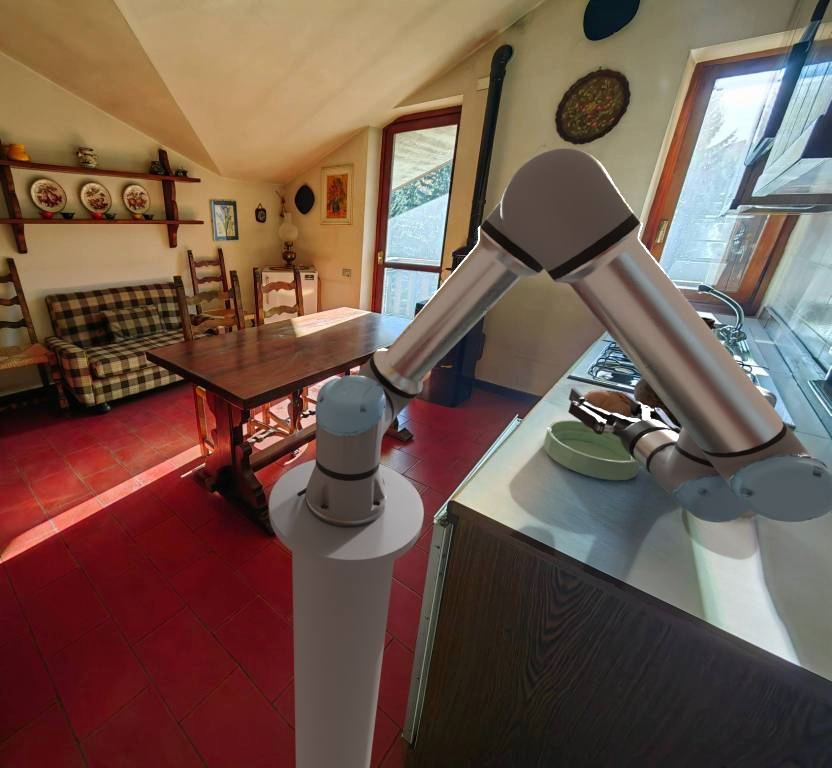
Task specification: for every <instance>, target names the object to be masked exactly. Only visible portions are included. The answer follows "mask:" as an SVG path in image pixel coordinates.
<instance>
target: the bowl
mask: <svg viewBox="0 0 832 768" xmlns="http://www.w3.org/2000/svg"><path fill="white" fill-rule="evenodd" d="M543 449H544V451H545V452H546V454H547V455H548V456H549V457H550V458H552V460H553V461H555V462H557V463H558V464H560V465H562V466H563V467H565V468H567V469H569V470H571V471H574V472H577V473H579V474H581V475H585V476H588V477H593V478H596V479H599V480H600V479H601V480H609V481H627V480H631V479H633V478H636V477H637V475H638V474H639V472H640V470H641V467H642V466H641V465H640V464H639V463H638V462H637V460H635V459H634V458H633V457H632V456H631V455H630V454H629V453H628V452H627V451H626V450H625V449H624V447H623V446H622V443H621V440H620V438H619V437H617V436H615V435H613V434H612V432H611V433H607V434H606V433H603V434H602V435H599V434H596V433H595V432H594V431H593V429H590V428H589V427H586V426H585V425H584V423H583V422H582V421H580V420H578V419H577V420H575V419H562V420H557V421H554V422H552V423H551V424H549V425H548V426H547V429H546V434H545V437H544V440H543Z"/></svg>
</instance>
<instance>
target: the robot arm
mask: <svg viewBox="0 0 832 768" xmlns="http://www.w3.org/2000/svg"><path fill="white" fill-rule="evenodd" d="M614 183H615V182H613V180H612V178H611V177H610V174H609V173H608V172H607V170H606V169H605V167H604V165H603V164H602V163H601V161H599V160H598V159H597V158H596V157H595V156H593V155H591V154H590V153H588V152H586V151H584V150H581V149H576V148H554V149H552V150H548V151H545V152H542V153H540V154H537V155H536V156H534V157H532V158H530V159H529V160H528V161H527V162H525V163H524V164H523V165H522V166H521V167H519V168H518V169H517V171H516V172H515V173H514V174H513V175H512V177H511V178H510V180H509V181H508V183H507V185H506V187H505V189H504V191H503V194H502V196H501V197H502V198H501V200H500V201H499V202H498V204H497V205H496V206H495V207H494V208H493V209H492V210H491V212H490V213H489V214H488V216H486V218H485V219H484V220H483V222H481V224H479V227H478V228H477V231H478V232H477V234H478V235H477V236H478V240H477V243H476V245H475V246H474V247H473V249H472V250H470V252H469V253H468V254H467V256H465V258H464V259H463V260H462V261H461V262H460V264H459V265H458V266H457V267H456V269H455V270H454V271H453V272H452V273H451V275H449V277H448V278H447V279H446V280H445V281H444V282H443V283H442V285H441V286H440V288H438V290H437V291H436V292H435V293H434V294H433V296H431V298H430V299H429V300H428V302H427V303H426V304H425V305H424V306H423V307H422V309H421V310H420V311H419V312H418V313H417V314H416V315H415V317H414V318H413V319H412V320H411V321H410V322H409V324H408V325H407V326H406V327H405V328H404V330H403V331H402V332H401V333H400V334H399V335H398V337H397V338H396V339H395V340H394V341H393V342H392V344H391V345H390V346H388V348H381V349H377V350H376V351H375V352H374V353H373V354H372V355H371V357H370V358H369V359H368V360H367V361H366V363H365V364H364V365H363V366H362V367H361V368H360V370H358V372H357V373H356V374H355V375H352V374H350V375H343V376H341V377H335V378H333V379H330V380H328V381H327V382H325V383H324V384H323V385H322V386H321V387H320V388H319V390H318V393H317V395H316V404H315V408H314V415H315V459H316V464H315V467H314V469H313V472H312V474H311V477H310V479H309V482H308V484H307V488H305V489H304V490H302V491H300V492H299V493H297V495H298V496H301V495H303V494H305V493H306V505H307V507H308V509H309V511H310V512H311V513H312V514H313V515H314V516H315V517H316V518H317V519H319V520H321V521H322V522H324V523H327V524H329V525H333V526H337V527H343V528H354V527H361V526H365V525H368V524H370V523H372V522H374V521H375V520H377V519H378V518H379V517H380V516H381V515H382V514H383V512H384V510H385V506H386V490H385V487H386V486H385V487H384V485H385V483H384V480H383V478H382V476H381V473H380V469H379V464H380V460H381V450H382V440H383V437H384V435H385V433H386V432H387V431H388V429H389V428H390V426H391V425H392V424H393V422H394V421H395V419H396V418H397V417H398V416H399V414H400V413H401V412H402V411H403V410H404V409H405V408H406V407H407V406H408V405H409V404H410V403H411V402H412V401H414V399H415V398H416V397H417V396H418V395H419V394H420V393H422V391H423V388H424V382H423V379H424V378H425V376H427V375H428V374H429V373H430V372H431V370H432V369H434V368H435V366H437V364H439V362H440V361H441V360H442V359H444V357H445V356H446V355H448V353H449V352H450V351H451V350H452V349H453V348H454V347H455V346H456V345H457V344H458V343H459V342H460V341H461V340H462V339H463V338H464V337H465V336H466V335H467V334H468V333H469V332H470V330H472V329H473V327H475V326H476V324H477V323H479V322H480V320H481V319H483V317H485V315H486V314H487V313H488V312H489V311H490V310H491V309H492V308H493V307H494V306H495V305H496V304H497V303H498V302H499V301H500V300H501V299H502V298H503V297H504V296H505V295H506V294H507V293H508V292H509V291H510V289H512V288H513V287H514V286H515V285H516V284H517V282H519V280H521V279H522V278H524V277H531V276H538V275H539V274H540V273H542V271H543V270H544V271H545V272H546V273H547V274H548V276H549V277H550V278H551V279H552V280H553V282H554V283H562V284H568V285H569V286H570V287H571V288H572V290H573V291H574V292H575V293H576V295H577V296H578V297H579V298H580V300H581V301H582V302H583V304H584V305H585V306H586V307H587V308H588V310H589V312H591V313H592V315H593V316H594V317H595V318H596V320H597V321H598V323H599V324H600V325H601V326H602V327H603V329H604V330H605V331H606V332H607V334H608V335H609V337H610V338H611V339H612V340H613V341H614V343H616V345H617V347H618V348H619V349H620V350H621V351H622V352H623V353H624V356H626V358H627V359H628V360H629V362H630V363H632V365H633V366H634V368H635V369H636V370H637V371H638V373H639V374H640V375H641V376H642V377H644V379H645V380H646V381H647V382H648V384H649V385H650V386H651V387H652V389H653V390H654V391H655V392H656V394H657V395H658V396H659V397H660V399H661V400H662V401H663V402H664V404H665V405H666V406H667V407H668V409H669V410H670V411H671V412H672V414H673V415H674V416H675V417H676V419H677V420H678V421H679V422H680V424H679V425H680V426H681V428H680V427H679V426H677V424H673V423H672V422H671V420H670V419H669V418H668V417H667V415H666V414H665V413H664V412H663V410H662V409H660V408H654V409H650V407H648V406H644V405H642V404H641V403H640V402H638V401H636V400H635V398H634V397H632V396H631V395H629V394H628V393H627V392H625V391H621V392H622V393H624V394H625V395H626V398H627V397H628V398H627V399H628V400H629V402H630V403H631V404H632V405H630V408H631V414H632V415H633V416H638V414H640V415H639V418H638V419H632V418H626V417H624V416H622V415H619V414H617V413H612V414H611V413H609V412H607V411H605V410H602V409H600V408H598V407H596V406H594V405H591V404H589V403H587V402H588V400H587V399H586V398H585V397H584V395H583V394H582V393H581V392H580V391H579V390H578V389H576V388H574V387H573V388H572V387H571V388H570V393H569V395H568V396H569V397H568V401H570V404H569V408H568V413H569V415H571V416H573V417H574V418H576V419H577V420H578V421H582V422H583V423H585V424H586V425H588V426H589V427H590V428H592V429H593V431H594V432H595V433H596V434H599V435H602V434H603V431H607V432H612V434H613V435H615V436H617V437H619V438H620V440H621V443H622V446H623V447H624V449H625V450H626V451H627V452H628V453H629V454H630V455H631V456H632V457H633V458H634V459H635V460H637V462H638V463H639V464H640V465H641V467H642V468H643V469H644V470H645V471H646V472H647V473H649V474H650V476H651V477H652V478H653V479H654V480H655V481H656V482H657V483H658V484H659V485H660V486H661V487H662V488H663V489H664V491H666V492H667V493H668V494H669V495H670V496H671V497H672V499H673V500H674V501H675V502H676V503H677V504H679V505H680V506H681V507H682V508H684V509H685V511H687V512H688V513H689V514H691V515H692V516H694V518H697V519H698V520H701V521H704V522H708V523H717V524H718V523H727V522H728V523H729V522H732V521H735V520H737V519H739V517H741V516H743V515H744V514H746V513H747V512H748V511H749V510H751V511H753V512H754V513H756V514H758V515H757V516H761V517H763V518H766V519H769V520H773V521H777V522H785V523H786V522H787V523H799V522H806V521H811V520H813V519H819V518H821V517H823V516H825V515H827V514H829V513H830V512H832V472H831V471H830V468H828V466H827V465H826V464H825V463H824V462H823V461H822V460H821V459H819V458H816V457H814V455H813V454H812V453H811V452H810V451H809V450H808V449H807V448H806V446H804V444H803V443H802V442H801V440H800V439H799V438H798V437H797V436H796V435H795V433H794V431H792V430H791V428H790V427H789V426H788V425H787V424H786V423H785V422H784V421H783V418H782V416H781V415H780V414H779V413H778V412H777V410H776V409H775V408H776V404H777V401H778V398H777V396H776V394H775V393H774V392H772V391H770V390H768V389H767V388H764V387H761V386H759V385H756V384H755V383H754V381H752V379H751V377H750V376H748V374H747V373H746V372H745V370H744V369H743V368H742V366H741V365H740V364H739V362H737V360H736V359H735V358H734V357H733V356H732V354H731V352H730V351H729V350H728V349H727V347H725V345H724V344H723V343H722V342H721V340H720V339H719V338H718V337H717V336H716V334H715V332H713V329H712V330H711V329H710V328H709V327H708V325H707V324H706V323H705V322H704V320H703V319H702V318H701V317H702V316H701V315H700V314H699V312H698V311H697V310H696V309H695V308H694V306H693V305H692V304H691V303H690V302H689V300H688V298H687V297H686V296H685V295H684V294H683V293H682V291H681V290H680V289H679V288H678V287H677V285H676V284H675V282H673V280H672V279H671V278H670V276H669V275H668V274H667V273H666V271H664V269H663V267H662V266H661V265H660V264H659V263H658V262H657V260H656V259H655V258H654V256H653V255H652V254H651V253H650V251H649V250H648V249H647V248H646V246H645V245H644V244H643V242H642V241H641V240H640V233H641V230H642V227H643V223H642V221H641V220H640V218H639V217H638V216H637V215H636V213H634V211H633V210H632V208H631V207H630V206H629V204H628V203H627V202H626V200H625V198H624V197H623V195H622V194H621V192H620V190H619V189H618V187H617V186H616V185H615V184H614ZM616 419H617V420H616ZM615 421H616V422H615Z"/></svg>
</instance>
